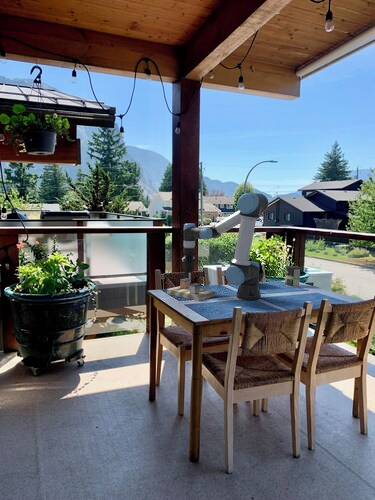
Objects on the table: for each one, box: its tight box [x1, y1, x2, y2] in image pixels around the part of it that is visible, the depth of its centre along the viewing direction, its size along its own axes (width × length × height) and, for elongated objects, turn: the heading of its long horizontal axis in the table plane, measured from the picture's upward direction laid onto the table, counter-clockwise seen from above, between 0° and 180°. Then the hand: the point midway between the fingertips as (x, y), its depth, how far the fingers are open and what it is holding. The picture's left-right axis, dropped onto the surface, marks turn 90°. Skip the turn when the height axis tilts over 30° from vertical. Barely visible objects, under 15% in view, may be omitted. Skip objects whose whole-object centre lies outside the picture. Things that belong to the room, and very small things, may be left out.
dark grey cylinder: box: [249, 258, 265, 283], centre depth 264 cm, size 20×20×19 cm
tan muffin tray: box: [166, 285, 216, 302], centre depth 232 cm, size 26×17×3 cm, turn 50°
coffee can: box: [284, 265, 301, 288], centre depth 267 cm, size 10×10×14 cm
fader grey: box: [189, 282, 201, 294], centre depth 224 cm, size 4×5×5 cm
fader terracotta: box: [179, 278, 191, 288], centre depth 238 cm, size 4×5×5 cm
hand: (188, 282), depth 241 cm, fingers closed
